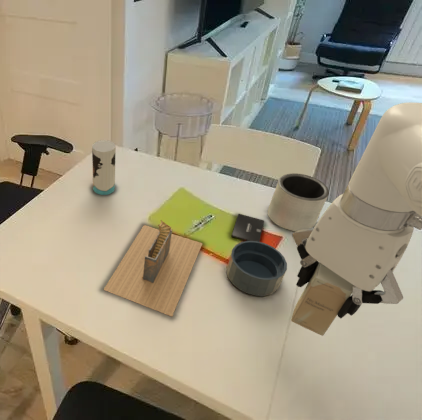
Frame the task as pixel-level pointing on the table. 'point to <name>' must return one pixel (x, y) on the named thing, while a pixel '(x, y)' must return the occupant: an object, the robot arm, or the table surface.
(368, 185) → the robot arm
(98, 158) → the white patterned canister
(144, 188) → the table surface
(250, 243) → the round storage tub
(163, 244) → the architectural model on board
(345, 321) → the table surface
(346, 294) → the box
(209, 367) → the table surface
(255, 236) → the solid state drive
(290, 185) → the planter
